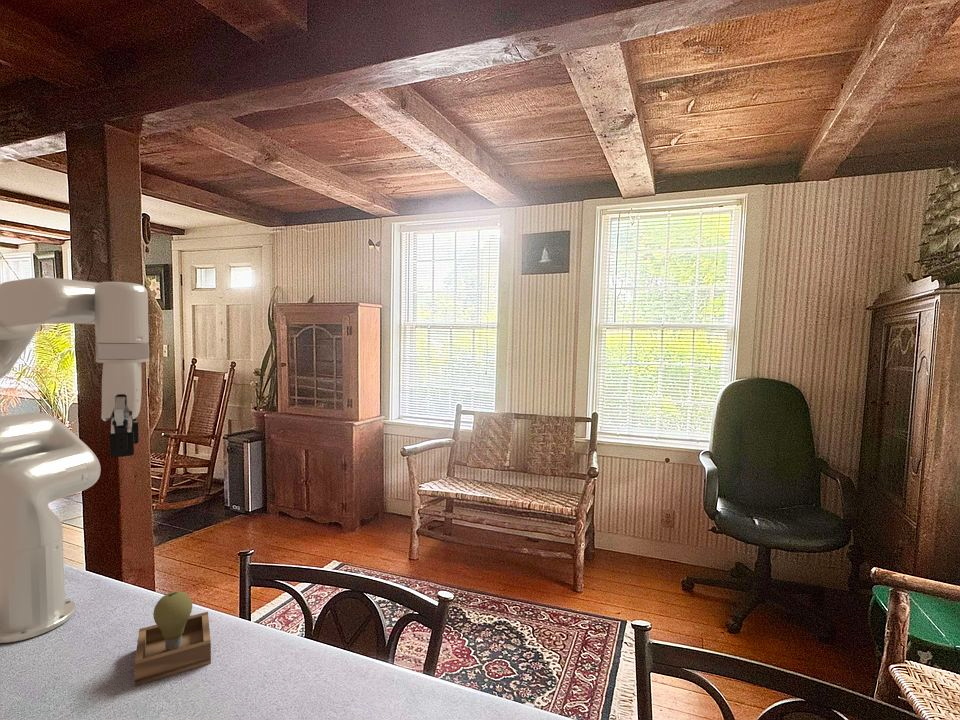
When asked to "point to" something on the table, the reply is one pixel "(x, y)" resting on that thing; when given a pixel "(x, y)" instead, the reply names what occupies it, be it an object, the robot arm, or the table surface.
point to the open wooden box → (162, 662)
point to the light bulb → (173, 617)
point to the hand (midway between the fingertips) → (125, 449)
